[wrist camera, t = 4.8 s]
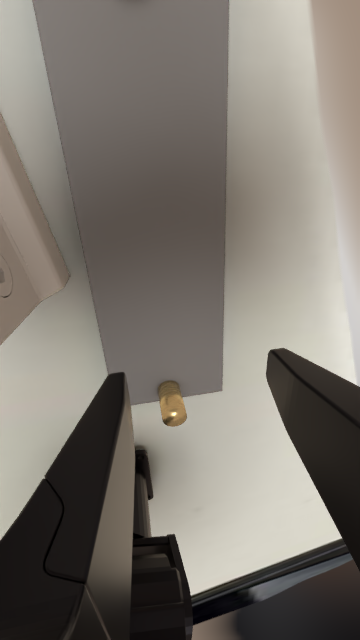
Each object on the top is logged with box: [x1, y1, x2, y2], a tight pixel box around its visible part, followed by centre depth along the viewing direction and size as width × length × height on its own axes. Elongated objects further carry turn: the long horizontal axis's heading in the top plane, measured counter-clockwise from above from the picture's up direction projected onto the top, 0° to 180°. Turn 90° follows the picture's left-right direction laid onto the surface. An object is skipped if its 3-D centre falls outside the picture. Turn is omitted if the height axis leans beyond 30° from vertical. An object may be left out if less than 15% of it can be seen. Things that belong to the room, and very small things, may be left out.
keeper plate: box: [33, 0, 229, 427], centre depth 19 cm, size 24×8×4 cm, turn 3°
